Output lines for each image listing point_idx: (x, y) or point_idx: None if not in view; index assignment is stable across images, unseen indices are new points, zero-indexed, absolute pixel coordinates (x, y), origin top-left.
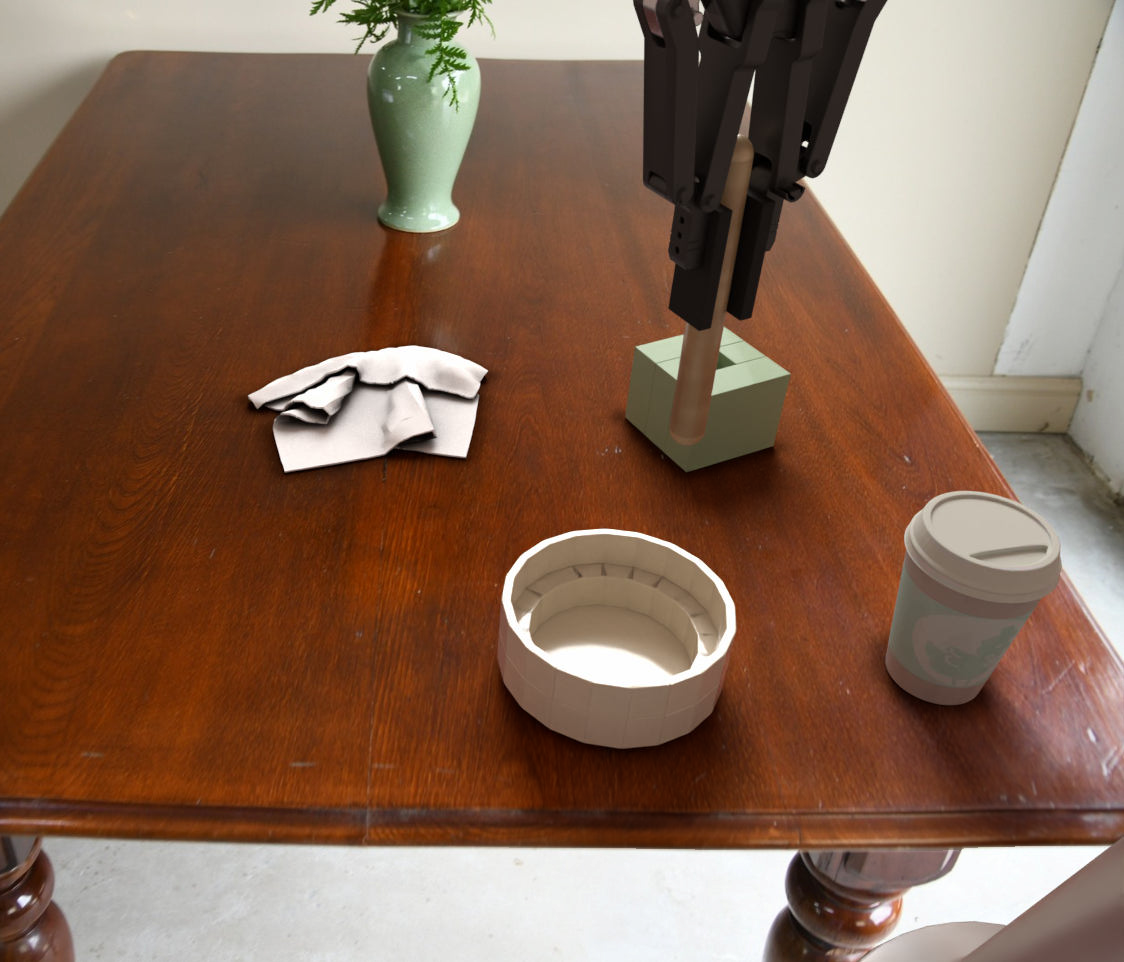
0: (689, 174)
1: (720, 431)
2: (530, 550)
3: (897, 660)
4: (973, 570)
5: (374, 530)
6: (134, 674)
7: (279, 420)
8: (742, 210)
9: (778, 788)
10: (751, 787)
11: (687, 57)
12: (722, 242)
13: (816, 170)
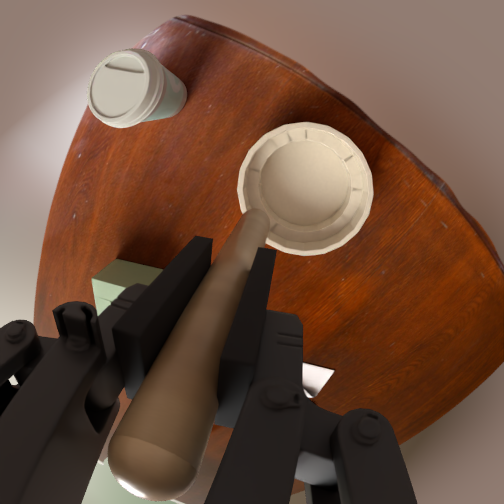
0: (362, 471)
1: (139, 275)
2: (316, 253)
3: (182, 100)
4: (150, 64)
5: (330, 323)
6: (454, 301)
7: (313, 394)
8: (171, 353)
9: (287, 82)
10: (298, 89)
11: None
12: (244, 318)
13: (19, 327)
